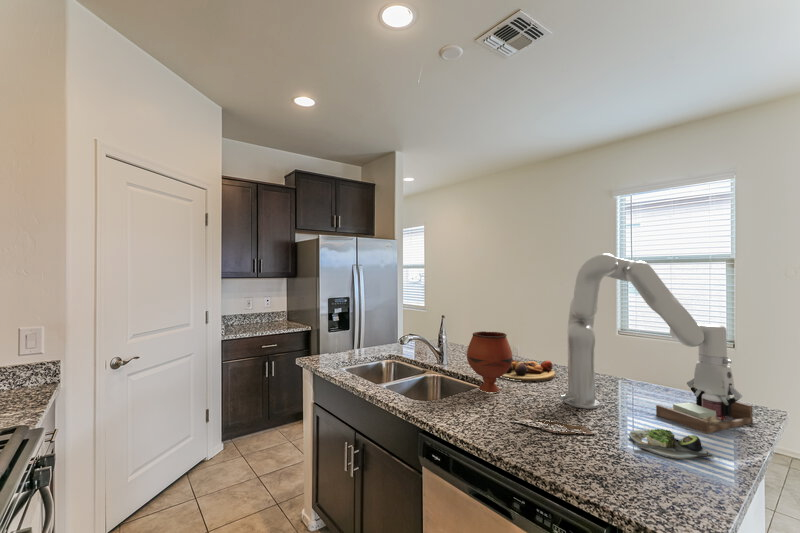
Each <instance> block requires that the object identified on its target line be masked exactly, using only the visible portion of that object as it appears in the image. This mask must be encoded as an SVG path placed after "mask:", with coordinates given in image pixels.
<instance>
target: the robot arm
mask: <svg viewBox="0 0 800 533" xmlns="http://www.w3.org/2000/svg"><path fill="white" fill-rule="evenodd" d="M604 277H606V278H610V279H615V280H618V281H624V282H629V283H630V284H631V285H632V286H633V287H634V288H635V291H637V292H638V295H640V296H641V298H642V299H643V301H644V302H645V303H646V305H647V306H648V307H649V308H650V309H651V310H652V311H653V312H655V314H657V315H659V316H660V318H662V320H663V321H664V323H666V324H667V326H668V327H669V334H670V336H671V337H672V339H673V340H675V341H676V342H678V343H680V344H682V345H683V346H685V347H688V348H690V347H691V348H696V347H698V361H696V364H695V368H694V375H693V376H694V377H693V378H692V379H691V380H689V381H687V382H686V385H687V386H688V387H689V388H690V391H692V392H693V394H694V396H695V398H696V399H695V401H696V404H697V405H699V406H702V394H704V393H705V391H706V390H707V389H708V390H711V391H712V393H713V394H715V395H719V396H721V398H722V400H723V402H724V404H722V415H723V416H725V418H727V417H729V416H730V414H731V404H733V403H735V402H739V400H740V399H742V398H743V395H742V394H741V393H740V392H739V391H738V390H737V389H736V388H735V383H734V376H733V370H732V369H731V366H729V365H731V364H732V363H733V361H732V360H731V359H728V346H727V345H728V338H727V335H728V334H727V333H728V332H727V328H726V327H725V326H724V325H721V324H715V323H714V324H712V323H702V324H699V323H698V322H697V321H696V320H695V319H694V318H693V316H692V315H691V314H690V312H689V311H688V310H687V309H686V308H685V307H684V306H683V305H682V304H681V303H680V301H679V300H678V299H677V298H676V297H675V295H674V294H673V293H672V292H671V291H670V289H669V288H668V287H667V285H666V284H665V283H664V281H663V280H662V279H661V278H660V277H659V275H658V274H657V272H656V271H655V270H654V268H653V267H652V266H651V265H650V264H649V263H648V262H645V261H643V260H636V261H635V260H630V259H624V258H619V257H616V256H615V255H613V254H611V253H608V252H607V253H605V252H604V253H600V254H597V255H595V256H593V257H591V258H589V259H587V260H585V262H584V263H583V264H582V265H581V266H580V268H579V270H578V271H577V276H576V279H575V285H574V291H573V299H572V300H571V302H570V305H569V314H568V323H567V331H566V332H567V387H568V388H567V390H566V391H565V394H559V395H558V398H559V399H558V400H560V401H563V402H564V403H566V404H567V405H569V406H572V407H575V408H579V409H586V410H587V409H590V410H592V409H593V410H594V409H598V408H600V404H601V402H600V401H599V400H597V399H596V360H595V359H596V358H595V357H596V334H595V331H594V322H595V316H596V315H597V312H598V300H599V292H600V287H601V282H602V280H603V278H604ZM731 396H733V397H731Z"/></svg>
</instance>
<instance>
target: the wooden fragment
mask: <svg viewBox="0 0 800 533" xmlns="http://www.w3.org/2000/svg"><path fill="white" fill-rule="evenodd" d="M527 418H528V417H527ZM527 418H525V419H527ZM528 419H531V420H533V419H532V418H531V417H529V418H528ZM549 420H550V422H549V421H546V422H545V421H540V420H538V422H542V423H544V422H545V424H546V423H549V424H550V425H551V424H552V425H554V424H558V425H559V424H560V425H561V426H563V425H564V426H565V427H566V428H567V429H579V430H580V429H581V430H583V431H584V432H586V434H585V435H593V434H594V432H593V431H591V430H590V429H588V428H587V427H586V426H583V425H581V426H572V425H575V424H574V423H573V424H572V423H571V424H572V425H570V424H569V425H567V424H568V423H566V422H562V423H561V422H558V421H553V420H552V419H549ZM551 421H553V422H551ZM557 422H558V423H557ZM563 423H564V424H563ZM549 424H548V425H549ZM583 428H584V429H583ZM543 430H544V431H546V432H551V433H554V434H556V433H557V434H558V431H553V430H549V429H544V428H543V429H542V431H543ZM560 433H561V434H560V435H582V434H581V433H578V434H576V433H575V432H571V431H567V432H566V431H565V432H560Z"/></svg>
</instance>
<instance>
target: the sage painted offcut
mask: <svg viewBox="0 0 800 533" xmlns="http://www.w3.org/2000/svg"><path fill="white" fill-rule="evenodd" d="M672 408H673V409H676V410H679V411H681V412H684V413H687V414H689V415H692V416H695V417H698V418H704V417H712V416H716V411H713V410H711V409H708V408H705V407H702V406H699V405H696V404H694V403H692V402H689V401H688V402H679V403H673V404H672Z"/></svg>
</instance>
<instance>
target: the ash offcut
mask: <svg viewBox="0 0 800 533" xmlns="http://www.w3.org/2000/svg"><path fill="white" fill-rule="evenodd" d="M671 408H672V409H673V407H671ZM673 410H676V409H673ZM676 411H679V410H676ZM679 412H681V411H679ZM682 413H684V412H682ZM685 414H687V413H685ZM688 415H689V414H688ZM691 416H692V415H691ZM694 417H695V416H694ZM697 418H698V417H697ZM700 419H703V420H706V421H709V422H710V421H712V420H714V419H716V416H712V417H704V418H700Z"/></svg>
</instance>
